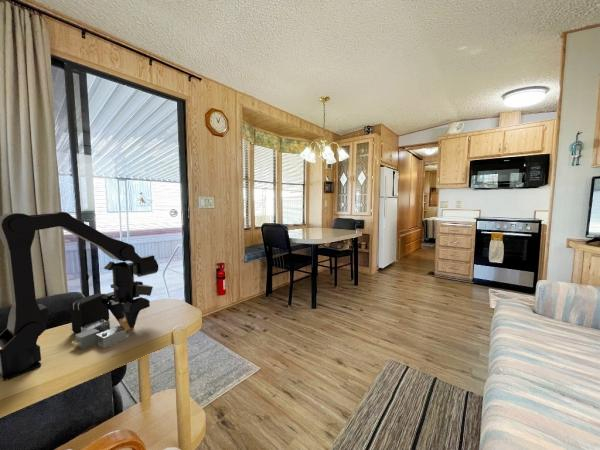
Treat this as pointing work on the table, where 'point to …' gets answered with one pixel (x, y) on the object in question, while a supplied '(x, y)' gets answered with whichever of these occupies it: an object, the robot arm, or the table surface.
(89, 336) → the orange and grey dumbbell
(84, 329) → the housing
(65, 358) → the table surface
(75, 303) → the electronic device
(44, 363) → the table surface
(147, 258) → the robot arm
